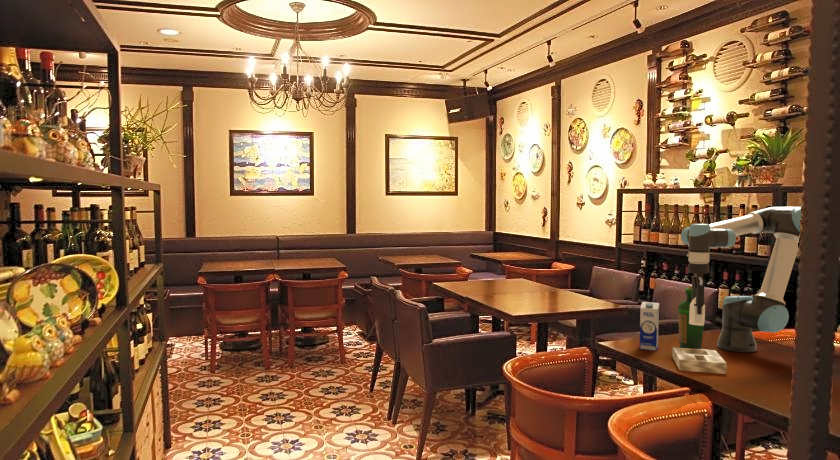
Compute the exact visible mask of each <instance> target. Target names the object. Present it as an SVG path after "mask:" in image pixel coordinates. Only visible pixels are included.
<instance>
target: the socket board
mask: <svg viewBox="0 0 840 460" xmlns="http://www.w3.org/2000/svg"><path fill="white" fill-rule="evenodd" d="M671 356H672V359H673V360H674V363H675V364H676V366H677V368H678V370H679V371H684V372H697V373H706V374H707V373H710V374H719V375H720V374H722V375H727V368H728V366H727V364H728V363H727V362H726V361H725V360H724V358H723V357H722V356H721V355H720V354H719V353H718V351H716V350H715V349H704V348H701V349H691V348H680V347H672V355H671Z"/></svg>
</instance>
